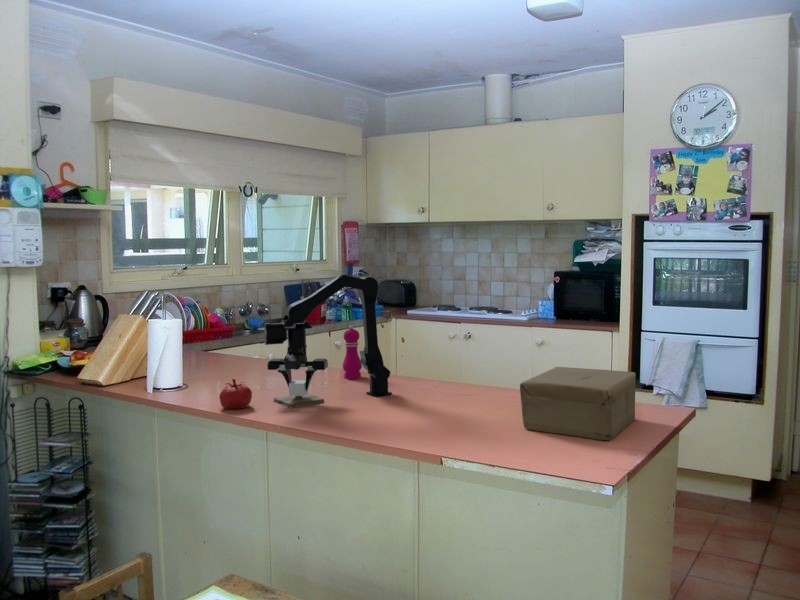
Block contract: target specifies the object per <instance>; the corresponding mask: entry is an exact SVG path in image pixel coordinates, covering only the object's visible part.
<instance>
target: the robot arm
mask: <svg viewBox="0 0 800 600" xmlns="http://www.w3.org/2000/svg"><path fill="white" fill-rule="evenodd" d="M346 287H347V288H352V289H356V290H357V294H358V297H359V300H360V303H361V307H362V309H361V310H362V321H363V336H364V348H363V350H359V357H360V363H362V367H363V368H364V369H365V370H366V371H367V373H368V375H369V391H366V395H370V396H373V397H377V398H378V397H383V396H387V395H388V396H389V395H393V392H392V391H389V378H390V376H391V371H390V370H389V368H387V367H386V366H385V365H384V360H383V355H382V352H381V350H380V347H379V343H378V341H379V340H378V339H379V338H378V328H377V312H376V302H377V298H378V294H379V293H378V292H379V283H378V280H377V279H376V278H374V277H372V276H366V275H364V276H361V277H354V276H351V275H347V274H343V273H339V274H338V275H337V276H336V277H335V278H333V279H332V280H331V281H329V282H327V283H326V284H324V285H323V286H322V287H320V288H319V289H317V290H316V291H314V292H313V293H312V294H311V295H309V296H308V297H305V298H302V299H300V300H297V301H295V302H293V303H290V304H289V305H288V306H287V307H286V308H285V309H286V311H285V315H284V316H283V317H282V320H281V321H280V322H279V323H270V322H268V323H267V322H266V323H264V332H263V342H264V344H265V346H268V345H269V346H271V345H283V344H284V342H286V341H287V345H288V346H287V352H286V354H285V356H284V358H272V359H270V360H269V361H268V362H267V371H277V373H280V374H281V375H282V376H283V378H284V381H286V385H287V387H288V388H289V383H290V382H291V381H293V379H292V370H295V371H297V370H300V368H307V369H306V370H305V380H306V391H307V390H308V391H309V388H310V384H311V380H313V379H312V378H313V376H314V374H315V373H316V372H317V371H324V370H326V369H327V368H328V367H329V361H328V359H327V358H314V359H313V360H312V361H309V360H308V356H307V348H308V346H307V335H306V334H307V333H306V330H307V329H308V330H310V329H312V328H313V326H312V325H310V324H309V322H308V321H307V320H306V319H307V318H308V317H309V316H310V315H311V314H312V312H313V311H315V309H316V308H317V307H318V306H320V305H321V304H323V303H324V302H325V301H327V300H328V299H329V298H332V296H333V295H335V294H337V293H338V292H340V291H341V290H342V289H344V288H346Z"/></svg>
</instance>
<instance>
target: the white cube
mask: <svg viewBox="0 0 800 600" xmlns="http://www.w3.org/2000/svg"><path fill="white" fill-rule="evenodd" d="M307 393H309V389H308V390H307V391H306V379H305V380H300V379H299V380H298V379H292V381H291V382H290V383H289V387H288V396H305V395H306V394H307Z"/></svg>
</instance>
